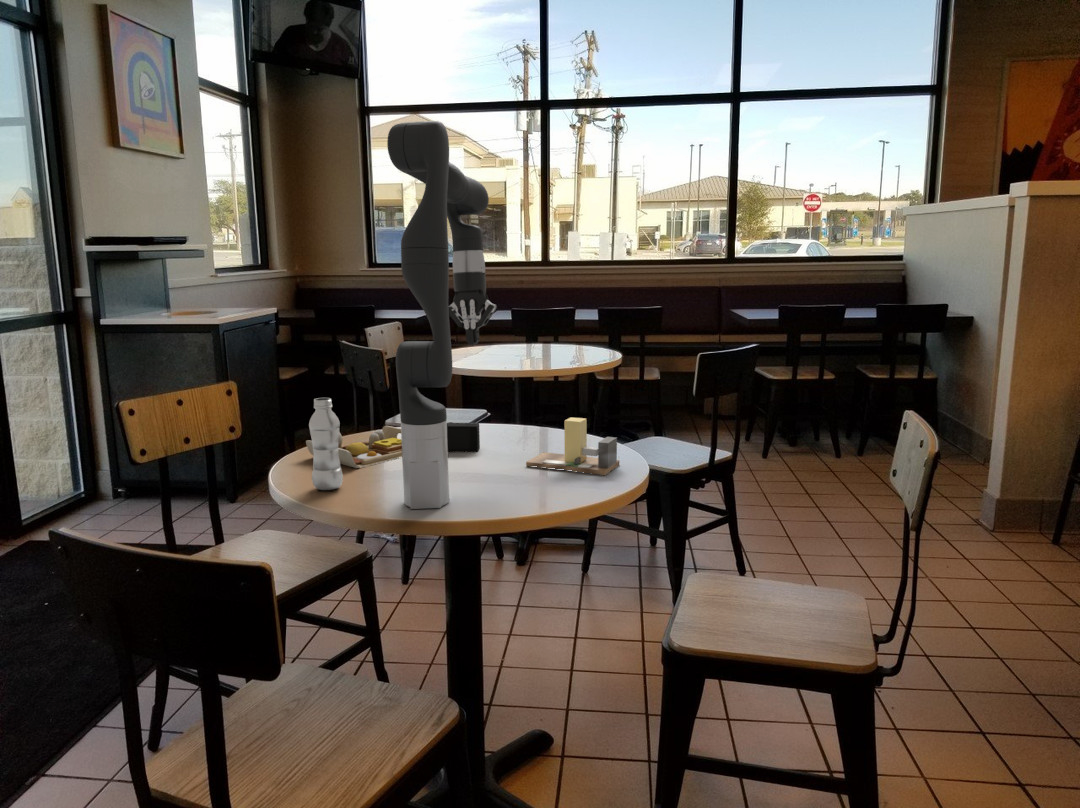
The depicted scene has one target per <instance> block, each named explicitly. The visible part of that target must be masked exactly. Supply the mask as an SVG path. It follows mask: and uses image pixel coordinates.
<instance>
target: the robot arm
mask: <svg viewBox="0 0 1080 808" xmlns="http://www.w3.org/2000/svg"><path fill="white" fill-rule="evenodd" d="M444 124H445V123H443V122H442V121H439V120H425V121H424V120H423V121H409V122H408V121H406V122H399V123H396V124H394V125H392V127H391V128H390V129H389V130H388V131H389V132H388V135H387V141H386V143H387V144H386V145H387V153H388V156H389V159H390V162H391V163H392V164H393V166H394V167H395V168H396V169H397V170H398V171H400V172H402V173H403V174H407V175H408V176H410V177H412V178H413V179H416V180H418V181H420V182H421V183H423V184H425V187H424V192H423V195H422V198H421V200H420V202H419V205H418V206H417V208H416V210H415V211H414V213H413V215H412V217H411V218H410V220H409V221H408V223H407V226H406V227H405V229H404V231H403V233H402V236H401V241H400V249H401V250H400V260H401V261H400V264H401V266H400V267H401V274H402V278H403V279H404V282H405V283H406V286H407V287H408V288H409V290H410V292H411V294H412V295H413V296H414V297H415V299H416V301H417V302H418V303H419V305H420V306H421V308H422V310H423V311H424V314H425V316H426V318H427V320H428V322H429V324H430V329H431V333H432V338H433V340H432V341H430V340H429V341H427V340H426V341H425V340H424V341H423V340H422V341H421V340H418V341H416V340H413V341H412V340H411V341H409V340H408V341H402V342H400V343H399V344H398V346H397V348H396V351H395V352H396V353H395V369H396V370H395V372H396V380H397V391H398V392H397V393H398V404H399V415H400V418H399V419H400V428H401V433H400V436H401V437H400V438H401V440H402V458H401V459H402V461H401V462H402V481H403V502H404V505H405V506H407V507H409V508H410V510H418V509H419V510H420V509H422V510H423V509H441V508H442V506H446V505H447V504H448V503H450V485H449V483H450V479H449V456H448V455H449V454H448V453H449V452H448V448H447V423H448V421H447V408H446V406H444V404H442V403H440V402H438V401H434V400H432V399H430V398H428V397H425V395H423V394H421V392H420V391H419V389H418V388H446V387H448V386H449V385H450V383H451V381H452V376H453V353H452V352H453V351H452V341H451V340H452V338H451V325H450V318H451V319H452V320H453V321H454V323H455V324H456V325H457V327H459V328H463V329H464V330H465V342H466V343H467V344H468V346H477V345H478V343H479V342H480V328H482V327H485V326H487V324H488V322H489V321H490V320H491V318H492V316H493V315H494V313H495V312H496V310H497V309H498V306H497V304H494V303H492V302H491V301H490V300H489V297H488V295H487V279H486V263H485V256H484V255H485V254H484V243H483V242H484V241H483V231H482V230H483V229H482V228H481V227H480V226H478V225H475V224H470V223H469V224H468V223H465V222H464V221H463V220H462V217H461V216H471V215H474V216H475V215H480V214H483V213H484V212H485V211H486V210H487V208H488V207H489V202H490V200H489V194H488V191H487V189H486V188H485V186H484V185H483V184H482V183H481V182H480V181H478V180H476V179H475V178H472V177H470V176H467V175H465V174H464V172H462V171H461V169H460V168H459V167H458V166H457V165H456V164H454V163H452V162H450V141H449V140H450V139H449V134H448V130H447V128H446V125H444ZM448 223H449V227H450V231H451V239H452V252H453V253H452V276H453V277H452V278H453V291H454V297H453V300H452V303H451V304H449V285H450V284H449V281H450V280H449V279H450V277H449V271H450V270H449V269H450V266H449V263H450V262H449V260H450V259H449V236H448V235H449V234H448V232H449V231H448ZM483 310H484V312H483ZM459 311H460V313H461V314H460V313H459ZM482 312H483V314H482Z"/></svg>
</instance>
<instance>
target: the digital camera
mask: <svg viewBox="0 0 1080 808" xmlns="http://www.w3.org/2000/svg"><path fill="white" fill-rule="evenodd" d="M480 439H481V437H480V422H451V421H450V422H449V421H448V422H447V448H448V453H478V452H479V450H480V448H481V447H480V446H481V440H480Z"/></svg>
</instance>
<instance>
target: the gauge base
mask: <svg viewBox="0 0 1080 808" xmlns="http://www.w3.org/2000/svg"><path fill="white" fill-rule="evenodd" d="M597 443H598V444H597V448H598V456H597V457H595V456H587V459H586V460H585V461H583V462H582V463H578V464H575V462H565V453H553V452H542V453H540V454H538V455H536V456H534V457H532V458H530V459H528V460H527V461H526V462H525V467H526V466H537V467H546V468H555V469H564V470H572V471H577V472H584V473H583V474H585V473H592V474H591V475H594V474H601V475H600V476H603V475H605V476H607V475H608V474H609V473H611V472H612V471H614V470H615V469H617V467H619V466H620V459H618V458H617V457H618V455H617V454H618V452H617V451H618V450H617V448H618V447H617V446H618V437H613V436H606V437H603V439H601V440H599V441H598V442H597ZM614 468H615V469H614ZM611 470H612V471H611ZM610 471H611V472H610ZM607 473H608V474H607ZM606 474H607V475H606Z"/></svg>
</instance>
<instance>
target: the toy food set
mask: <svg viewBox="0 0 1080 808" xmlns="http://www.w3.org/2000/svg"><path fill="white" fill-rule="evenodd" d="M399 434H401V427H396V426H395V427H394V426H391V425H390V426H389V425H383V427H382V429H377V430H376V431H375V432H372V433H370V435H369V437H368V440H367V441H366V440H365V441H362V442H361V441H359V442H357V441H356V442H353V443H349V444H348V445H343V446H342V444H343V436H342V434H341V432H340V431H339V438H338V453H339V460H340V465H343V466H346V465H347V467H350V468H354V469H357V468H360V467H364V468H366V467H365V466H368V467H370V466H369V465H372V464H375V465H377V464H376V463H379V464H381V463H380V462H383V463H386V462H385V461H387V462H390V461H389V460H391V461H393V460H392V459H394V460H397V459H396V458H398V459H400V458H399V457H402V440H401V439H400V438H398V435H399ZM305 444H306V447H307V450H308V451H309V453H310V455H312V457H314V454H313V445H312V439H311V440H305ZM372 466H373V465H372ZM360 469H361V468H360Z"/></svg>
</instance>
